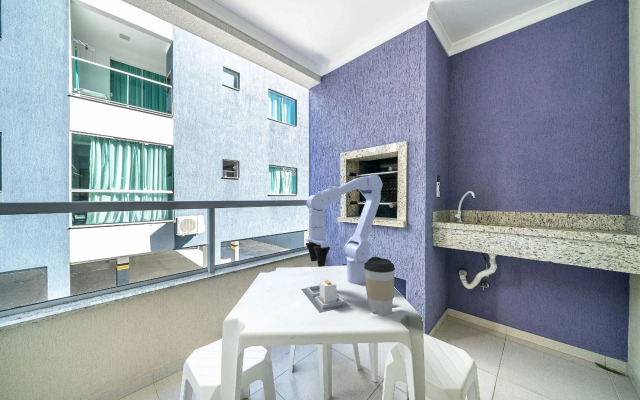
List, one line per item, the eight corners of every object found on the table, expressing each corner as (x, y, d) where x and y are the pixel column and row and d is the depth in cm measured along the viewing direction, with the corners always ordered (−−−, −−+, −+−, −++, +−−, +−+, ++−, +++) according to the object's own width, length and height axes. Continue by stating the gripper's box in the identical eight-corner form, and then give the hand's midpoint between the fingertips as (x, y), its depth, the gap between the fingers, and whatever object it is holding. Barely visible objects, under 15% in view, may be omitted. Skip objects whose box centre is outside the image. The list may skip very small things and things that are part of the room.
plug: (331, 298, 73) (330, 278, 73) (336, 303, 69) (336, 282, 69) (320, 300, 71) (319, 280, 71) (324, 306, 67) (324, 284, 67)
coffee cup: (401, 315, 63) (400, 262, 63) (371, 318, 61) (370, 264, 61) (387, 301, 72) (386, 255, 72) (360, 304, 70) (359, 256, 70)
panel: (325, 286, 85) (325, 282, 85) (350, 308, 67) (350, 302, 67) (300, 291, 81) (300, 286, 81) (319, 315, 64) (319, 309, 64)
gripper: (300, 225, 87) (301, 260, 87) (313, 229, 74) (314, 270, 73) (317, 224, 90) (318, 258, 90) (332, 228, 76) (333, 267, 76)
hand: (317, 263), depth 82 cm, fingers open, 7 cm apart
